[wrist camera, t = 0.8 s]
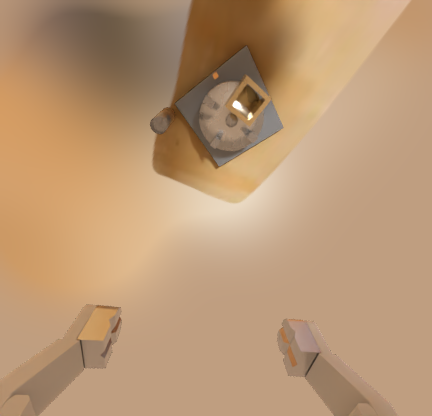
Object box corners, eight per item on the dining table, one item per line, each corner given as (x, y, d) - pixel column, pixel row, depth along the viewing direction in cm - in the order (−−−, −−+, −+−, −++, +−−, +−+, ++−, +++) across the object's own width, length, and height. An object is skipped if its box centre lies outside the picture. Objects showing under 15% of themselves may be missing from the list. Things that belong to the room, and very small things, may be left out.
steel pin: (169, 104, 43) (158, 113, 36) (178, 116, 45) (169, 128, 37) (158, 112, 44) (146, 123, 37) (167, 124, 46) (158, 137, 38)
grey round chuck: (234, 157, 48) (236, 168, 43) (188, 123, 44) (184, 131, 38) (277, 105, 41) (286, 112, 36) (228, 58, 37) (229, 59, 32)
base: (245, 45, 37) (248, 44, 34) (281, 125, 45) (286, 130, 42) (175, 102, 43) (172, 105, 40) (219, 164, 51) (219, 171, 48)
